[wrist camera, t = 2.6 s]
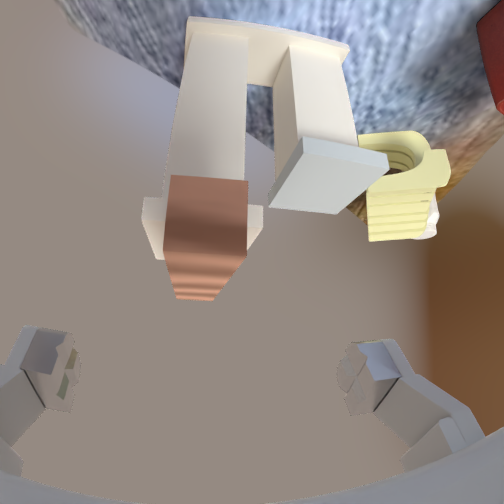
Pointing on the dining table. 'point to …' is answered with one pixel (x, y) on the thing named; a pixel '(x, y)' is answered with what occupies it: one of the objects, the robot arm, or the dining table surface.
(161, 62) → the dining table surface
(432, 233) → the jar
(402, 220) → the slatted curved stool
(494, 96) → the plant pot
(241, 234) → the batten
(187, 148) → the stand
